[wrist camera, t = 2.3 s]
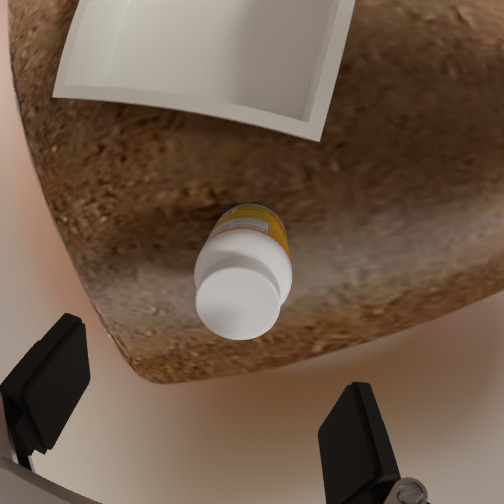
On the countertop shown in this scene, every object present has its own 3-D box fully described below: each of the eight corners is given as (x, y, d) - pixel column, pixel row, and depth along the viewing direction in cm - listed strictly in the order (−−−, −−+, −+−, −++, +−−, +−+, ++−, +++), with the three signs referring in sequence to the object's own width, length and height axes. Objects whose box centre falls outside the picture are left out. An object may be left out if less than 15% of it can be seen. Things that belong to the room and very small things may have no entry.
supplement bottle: (282, 273, 24) (288, 356, 15) (213, 267, 24) (182, 345, 15) (290, 205, 22) (303, 258, 13) (215, 199, 22) (178, 247, 13)
